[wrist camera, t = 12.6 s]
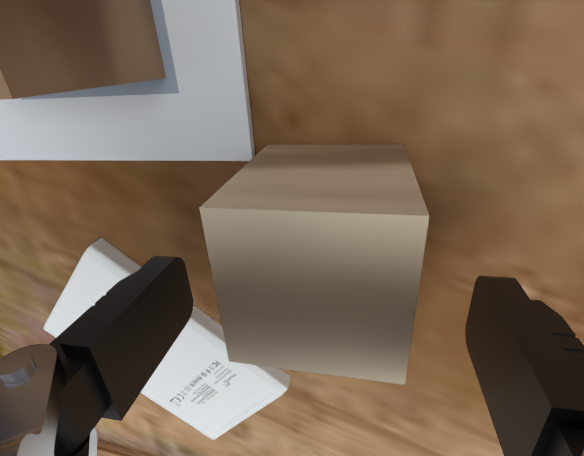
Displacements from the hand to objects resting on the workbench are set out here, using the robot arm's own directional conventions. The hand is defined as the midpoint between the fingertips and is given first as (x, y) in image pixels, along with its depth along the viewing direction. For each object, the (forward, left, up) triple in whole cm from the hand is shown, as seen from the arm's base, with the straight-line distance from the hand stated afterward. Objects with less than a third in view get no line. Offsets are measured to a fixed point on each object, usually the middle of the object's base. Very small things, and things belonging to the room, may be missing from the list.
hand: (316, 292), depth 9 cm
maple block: (0, 0, -5) cm, 5 cm away
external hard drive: (+9, -10, -6) cm, 14 cm away
